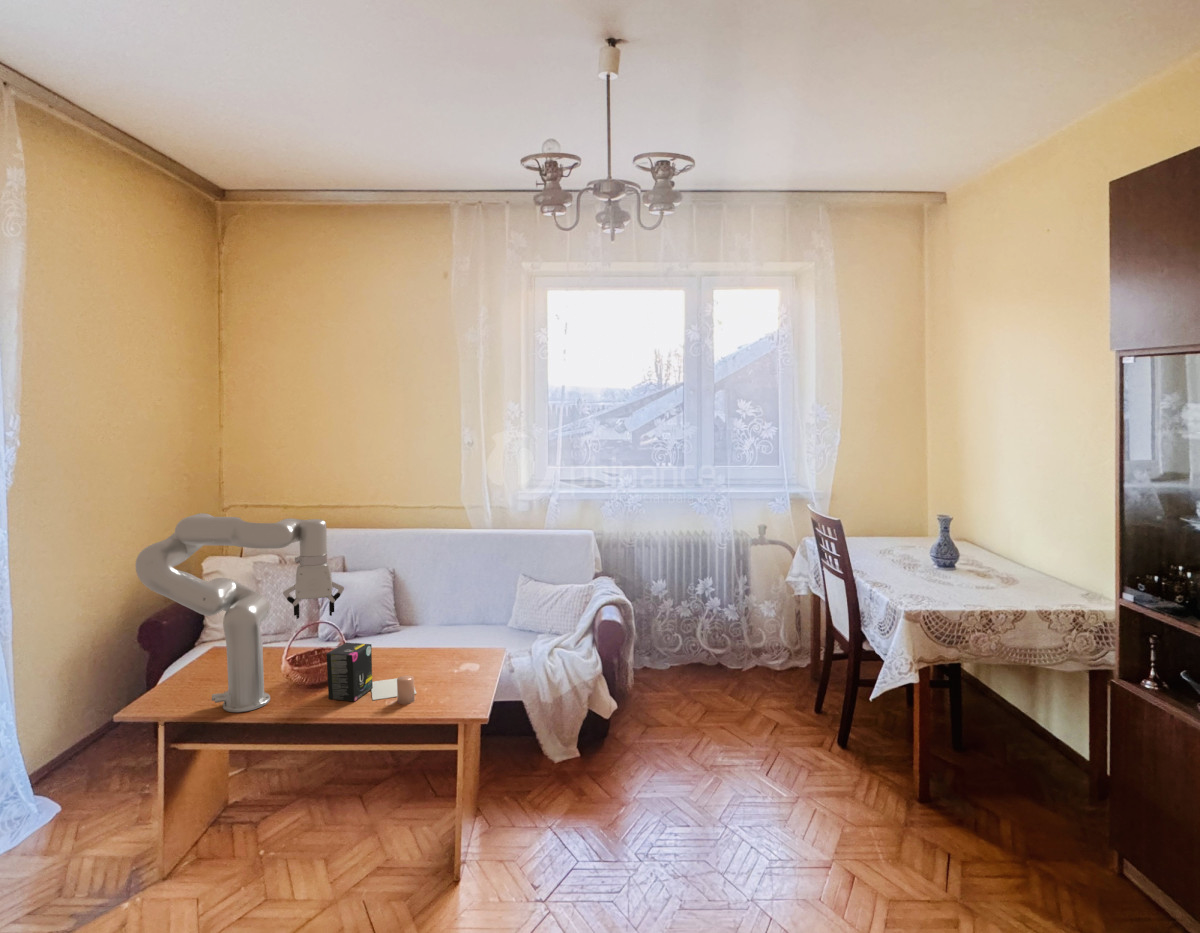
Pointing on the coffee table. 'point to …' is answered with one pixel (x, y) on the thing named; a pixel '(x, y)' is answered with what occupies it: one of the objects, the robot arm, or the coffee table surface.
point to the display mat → (385, 689)
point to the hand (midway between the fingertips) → (314, 616)
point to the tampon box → (349, 671)
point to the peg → (405, 689)
